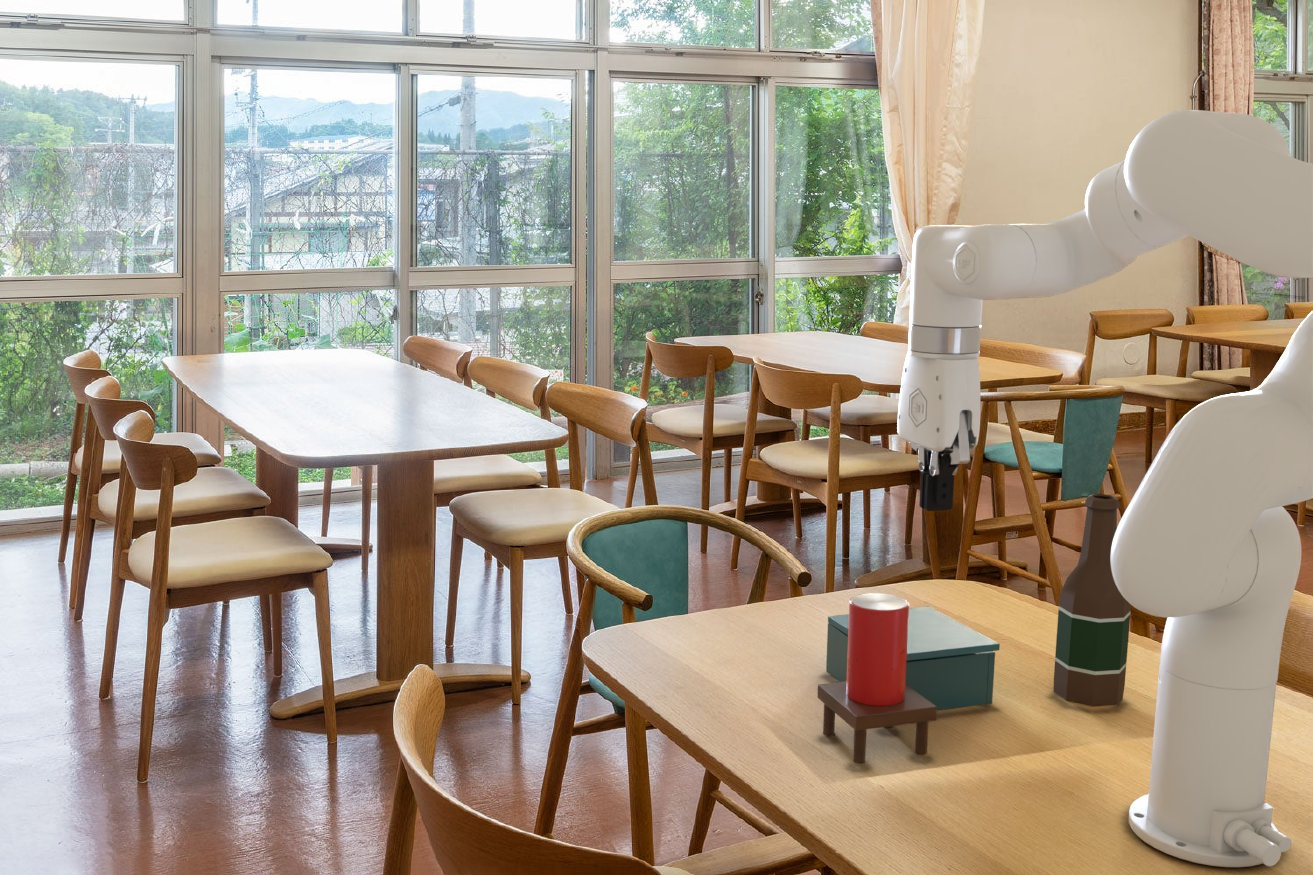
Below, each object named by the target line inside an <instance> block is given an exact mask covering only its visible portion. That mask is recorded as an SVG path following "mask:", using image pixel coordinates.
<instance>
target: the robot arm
mask: <svg viewBox="0 0 1313 875" xmlns="http://www.w3.org/2000/svg"><path fill="white" fill-rule="evenodd" d="M1084 207H1085V208H1084V209H1082V210H1080V211H1077V212H1075V213H1073V214H1070V215H1068V216H1065V217H1063V218H1060V219H1058V220H1056V221H1055V220H1054V221H1053V222H1049V223H1042V224H1041V223H1038V224H1037V223H1006V224H979V225H958V224H957V225H956V224H933V225H932V224H931V225H925V226H921V227H920V228H918V229H917V230H916V232H915V233H914V236H913V239H912V255H911V256H912V258H911V275H910V276H911V281H910V298H909V300H910V301H909V321H908V322H909V324H908V343H907V344H908V346H907V353H906V356H905V360H904V364H903V370H902V375H901V382H900V389H899V390H900V391H899V398H898V410H897V422H896V423H897V424H896V425H897V427H896V429H897V431H896V432H897V434H898V436H899V438H900V439H902V441H905V442H907V443H909V446H910V447H911V448H912V450H914V451H915V452H916V453H917V457H918V458H917V459H918V469H919V471H920V484H919V485H920V486H919V507H920V508H921V509H923V510H926V511H927V512H937V511H939V512H940V511H950V510H952V508H953V503H954V486H955V484H954V483H955V476H956V475H957V474H958V471H959V470H958V469H959V465H963V464H964V465H965V464H969V463H970V462H971V454H970V453H971V452H970V451H971V450H973V449H975V448H976V447H977V446H978V442H979V438H980V429H981V413H982V412H981V374H980V365H979V358H980V353H981V336H982V334H981V333H982V320H983V317H982V316H983V301H998V300H999V301H1000V300H1002V301H1003V300H1013V299H1014V300H1015V299H1034V298H1035V299H1036V298H1050V297H1055V296H1060V295H1062V294H1065V293H1069V292H1071V291H1075V290H1077V289H1080V288H1083V287H1086V286H1089V285H1091V284H1094V283H1096V282H1099V281H1101V280H1104V279H1107V278H1110V277H1111V276H1114V275H1116V274H1118V273H1119V272H1121V271H1123V270H1124V269H1126V268H1127V267H1128V266H1130V265H1131V264H1132V263H1133V262H1135V261H1136V259H1137V258H1138V257H1139V256H1141V255H1144V254H1148V253H1149V252H1153V251H1155V250H1158V249H1160V248H1163V247H1165V246H1168V245H1171V244H1173V243H1176V242H1178V241H1181V240H1183V239H1186V238H1189V237H1191V238H1193V239H1195V240H1197V241H1199V242H1201V243H1203V244H1205V245H1206V246H1209V247H1211V248H1213V249H1214V250H1217V251H1219V252H1220V253H1223V254H1224V255H1227V257H1230V258H1232V259H1234V260H1236V261H1238V262H1241V263H1243V264H1245V265H1247V266H1248V267H1251V268H1254V269H1255V270H1257V271H1260V272H1263V273H1266V274H1269V275H1273V276H1276V277H1283V278H1289V279H1306V278H1307V279H1308V278H1309V279H1310V278H1313V162H1307V161H1303V160H1300V159H1297V158H1295V157H1292V155H1291V151H1290V147H1289V145H1288V142H1287V140H1286V139H1285V137H1284V136H1283V134H1282V133H1281V132H1280V131H1279V129H1277V127H1275V126H1274V125H1273V124H1272V123H1270V122H1268V121H1266V120H1265V119H1263V118H1260V117H1258V116H1255V115H1251V114H1247V113H1241V112H1225V111H1214V110H1213V111H1212V110H1202V109H1201V110H1200V109H1182V110H1176V111H1172V112H1168V113H1165V114H1162V115H1160V116H1159V117H1156V118H1155V119H1153V120H1151V121H1150V122H1149V123H1148V124H1146V125H1145V126H1144V127H1143V128H1142V129H1141V130H1140V131H1139V132H1138V133H1137V134H1136V136H1135V137H1134V139H1132V142H1131V144H1130V145H1129V148H1128V150H1127V152H1126V155H1125V159H1124V160H1122V161H1119V162H1118V163H1115V164H1113V165H1111V166H1109V167H1106V168H1104V169H1102V170H1100V171H1099V172H1098V173H1096V175H1094V176H1093V178H1092V179H1091V180H1090V181H1089V184H1088V186H1087V189H1086V192H1085V196H1084ZM1312 499H1313V310H1311V312H1310V313H1309V314H1308V315H1307V316H1305V318H1304V319H1303V321H1301V323H1300V324H1299V326H1298V327H1297V329H1296V330H1295V331H1294V333H1293V334H1292V336H1291V338H1290V340H1289V342H1288V344H1287V346H1286V348H1285V349H1284V351H1283V353H1282V354H1281V356H1280V358H1279V360H1278V361H1277V362H1276V364H1275V365H1274V367H1273V369H1272V370H1271V372H1270V373H1269V374H1268V375H1267V377H1266V378H1265V379H1264V380H1263V382H1262V383H1261V384H1260V385H1258V386H1257V387H1256V388H1253V389H1251V390H1249V391H1242V392H1236V393H1229V394H1222V395H1219V396H1215V397H1213V398H1210V399H1207V400H1204V401H1203V402H1201V403H1199V404H1198V405H1196V406H1194V407H1193V408H1191V410H1189V411H1188V412H1187V413H1185V414H1184V415H1183V417H1182V418H1180V419H1179V421H1178V422H1177V423H1176V424H1175V425H1174V426H1173V427H1172V428H1171V430H1170V432H1169V433H1168V435H1167V436H1166V438H1165V439H1164V441H1163V443H1162V445H1161V446H1160V448H1159V450H1158V451H1157V453H1156V455H1155V457H1154V459H1153V461H1152V462H1151V464H1150V466H1149V467H1148V469H1147V471H1146V473H1145V475H1144V476H1143V478H1142V480H1141V482H1140V484H1139V486H1138V487H1137V489H1136V491H1135V493H1134V495H1133V496H1132V498H1131V500H1130V502H1129V503H1128V505H1127V507H1126V509H1125V510H1124V512H1123V515H1122V517H1121V518H1120V521H1119V522H1118V524H1117V529H1116V532H1115V535H1114V538H1113V541H1112V547H1111V555H1110V562H1111V570H1112V575H1113V578H1114V581H1115V584H1116V586H1117V588H1118V590H1119V591H1120V593H1121V594H1122V596H1123V597H1124V598H1125V599H1126V600H1127V601H1128V602H1129V603H1130V604H1131V606H1132V607H1133V608H1134V609H1136V610H1138V611H1140V612H1142V613H1144V614H1147V615H1150V616H1154V617H1157V618H1166V621H1165V625H1164V630H1163V635H1162V640H1161V648H1160V659H1159V660H1160V661H1159V668H1158V680H1157V690H1156V691H1157V692H1156V701H1155V702H1156V703H1155V713H1154V714H1155V715H1154V725H1153V736H1152V737H1153V738H1152V750H1151V762H1150V773H1149V785H1148V786H1149V787H1148V793H1146V794H1144V795H1142V796H1140V797H1138V798H1137V799H1134V800H1133V802H1131V803H1130V806H1129V810H1128V824H1129V827H1130V829H1131V830H1132V831H1133V832H1134V834H1135V835H1136V836H1137V837H1138V838H1139V839H1140V840H1142V841H1143V842H1144V843H1146V844H1147V845H1148V846H1150V847H1152V848H1154V849H1156V850H1158V851H1160V852H1161V853H1164V854H1166V855H1169V856H1171V857H1174V858H1178V859H1180V860H1183V861H1187V862H1190V863H1194V864H1199V865H1203V866H1204V865H1205V866H1211V867H1220V868H1246V867H1247V868H1248V867H1255V866H1258V865H1262V864H1263V865H1265V867H1273V866H1276V865H1277V864H1278V862H1279V861H1280V860H1281V857H1282V853H1286V852H1288V851H1289V850H1290V849H1291V846H1292V839H1291V838H1290V837H1289V836H1288V835H1286V834H1284V833H1282V832H1280V831H1279V829H1278V828H1277V827H1276V825H1275V823H1273V816H1274V815H1273V814H1274V806H1272V805H1271V804H1268V803H1267V802H1265V800H1266V789H1267V780H1268V772H1269V771H1268V770H1269V761H1270V760H1269V759H1270V751H1271V750H1270V749H1271V740H1272V730H1273V722H1274V721H1273V720H1274V712H1275V703H1276V702H1275V701H1276V693H1277V691H1276V690H1277V682H1278V679H1279V669H1280V660H1281V653H1282V646H1283V645H1282V644H1283V638H1284V632H1285V626H1286V621H1287V617H1288V613H1289V609H1290V605H1291V603H1292V599H1293V597H1294V596H1293V595H1294V593H1295V589H1296V585H1297V582H1298V579H1299V576H1300V575H1299V574H1300V570H1301V564H1302V542H1301V540H1302V539H1301V536H1300V532H1299V529H1298V527H1297V525H1296V523H1295V521H1294V519H1293V516H1291V514H1290V512H1288V511H1287V509H1286V508H1284V506H1290V505H1294V504H1295V505H1296V504H1298V503H1302V502H1305V501H1308V500H1312Z"/></svg>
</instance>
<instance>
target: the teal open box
mask: <svg viewBox="0 0 1313 875" xmlns="http://www.w3.org/2000/svg"><path fill="white" fill-rule="evenodd" d="M826 636H827V638H826V662H825V663H826V664H825V666H826V667H825V668H826V669H825V671H826V673H828V675H830V676H831V677H833V678H834V679H835V680H836V681H837V682H844V681H847V654H848V635H847V634H845V633H844V632H842V631H841V630H839V629H837V628H836V627H834V626H833V625H831V624H830V623H828V622H827V634H826ZM995 662H996V651H989V652H980V653H971V654H963V655H954V656H945V657H936V658H927V659H919V660H910V661H907V664H906V685H907V686H909V687H910V688H912V689H913V690H914V691H916V692H917V693H919V694H920V695H921V696H923V697H924V698H926V699H927V700H928V701H930V702H931V703H932V704H934V705H935V706H937V712H938V711H945V710H953V709H960V708H961V709H963V708H969V707H976V706H977V707H978V706H985V705H992V704H993V697H994V696H993V695H994V681H995V680H994V677H995Z"/></svg>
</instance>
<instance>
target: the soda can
mask: <svg viewBox="0 0 1313 875" xmlns="http://www.w3.org/2000/svg"><path fill="white" fill-rule="evenodd" d="M848 606H849V607H848V614H849V628H848V654H847V681H846V694H847V696H848V697H849V698H850V699H852V700H854V701H856V702H859V703H862V704H866V705H873V706H888V705H894V704H898V703H900V702H902V701H903V700H904V698H905V685H906V664H907V643H908V621H909V608H910V602H909V601H908V600H907V599H906V598H903V597H900V596H898V595H894V594H888V593H881V592H880V593H878V592H877V593H876V592H872V593H871V592H870V593H861V594H857V595H854V596H852V597H850V598H849V604H848Z"/></svg>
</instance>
